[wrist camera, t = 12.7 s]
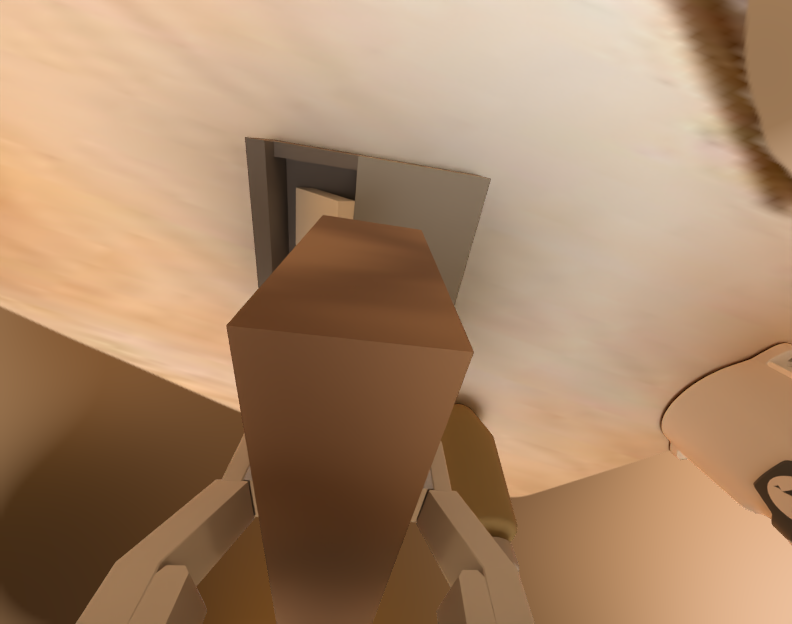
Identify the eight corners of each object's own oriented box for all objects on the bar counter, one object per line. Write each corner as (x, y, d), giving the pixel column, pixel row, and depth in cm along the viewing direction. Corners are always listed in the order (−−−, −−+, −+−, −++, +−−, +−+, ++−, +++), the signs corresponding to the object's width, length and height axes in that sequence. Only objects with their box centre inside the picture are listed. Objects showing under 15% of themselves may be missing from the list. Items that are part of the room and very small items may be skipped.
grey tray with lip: (477, 175, 21) (499, 181, 17) (431, 349, 29) (438, 380, 25) (272, 139, 19) (245, 137, 15) (282, 334, 27) (265, 365, 23)
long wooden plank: (421, 229, 9) (473, 352, 4) (372, 471, 15) (366, 638, 10) (322, 214, 8) (226, 325, 3) (315, 468, 15) (279, 639, 10)
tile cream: (354, 200, 19) (338, 201, 18) (349, 258, 21) (334, 262, 19) (313, 187, 20) (295, 187, 19) (311, 242, 22) (295, 244, 21)
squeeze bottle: (428, 447, 37) (464, 670, 21) (406, 407, 33) (429, 643, 17) (490, 430, 35) (576, 652, 20) (474, 386, 32) (565, 619, 16)
